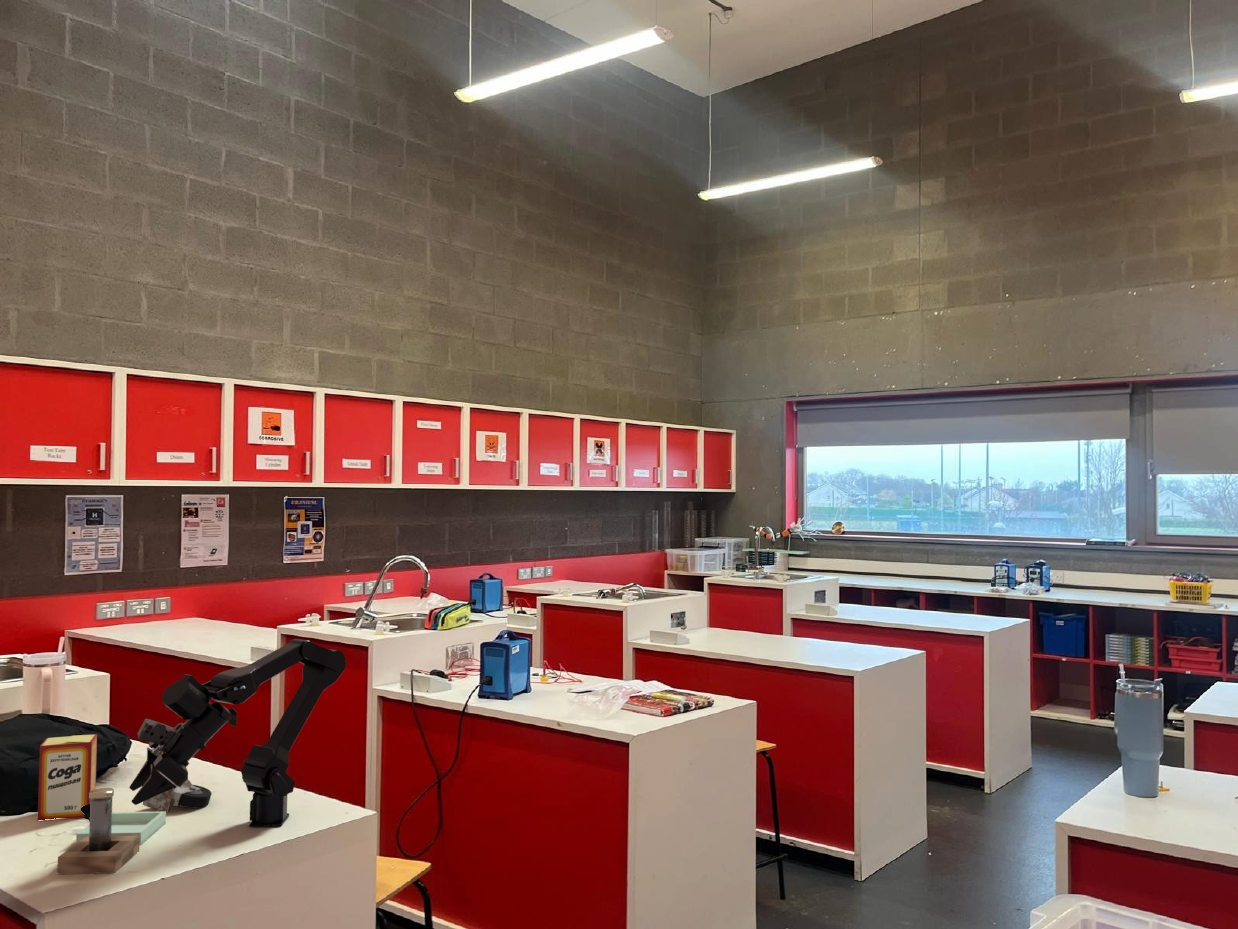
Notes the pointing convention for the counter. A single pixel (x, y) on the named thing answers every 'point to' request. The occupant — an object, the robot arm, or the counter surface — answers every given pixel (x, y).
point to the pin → (100, 819)
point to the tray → (132, 825)
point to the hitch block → (98, 856)
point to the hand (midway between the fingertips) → (132, 796)
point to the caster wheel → (180, 798)
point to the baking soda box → (66, 776)
